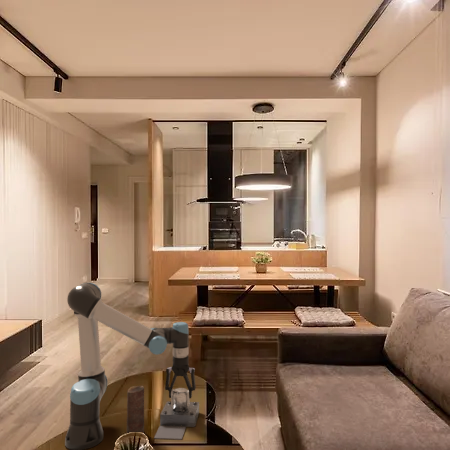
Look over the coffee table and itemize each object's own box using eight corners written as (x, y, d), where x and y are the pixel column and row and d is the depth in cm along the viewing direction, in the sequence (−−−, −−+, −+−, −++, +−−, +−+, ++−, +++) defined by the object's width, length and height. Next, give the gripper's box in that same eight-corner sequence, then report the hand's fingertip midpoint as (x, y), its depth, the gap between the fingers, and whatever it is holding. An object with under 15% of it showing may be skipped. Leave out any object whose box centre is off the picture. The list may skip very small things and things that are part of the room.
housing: (160, 425, 165) (160, 413, 165) (166, 411, 179) (167, 400, 179) (194, 426, 164) (194, 414, 164) (199, 412, 178) (199, 401, 178)
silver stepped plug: (171, 422, 168) (171, 393, 169) (174, 415, 175) (174, 387, 176) (186, 422, 168) (186, 394, 168) (188, 415, 175) (188, 388, 175)
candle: (139, 440, 153) (139, 391, 154) (123, 438, 155) (124, 390, 156) (146, 430, 161) (147, 384, 162) (131, 429, 162) (132, 383, 163)
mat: (153, 438, 154) (153, 437, 154) (159, 426, 164) (159, 426, 164) (181, 439, 153) (181, 438, 153) (185, 427, 163) (185, 426, 163)
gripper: (158, 357, 170) (157, 407, 169) (200, 358, 169) (200, 409, 167) (161, 353, 177) (161, 400, 176) (202, 353, 176) (202, 401, 175)
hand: (180, 404), depth 172 cm, fingers closed on silver stepped plug, 7 cm apart
